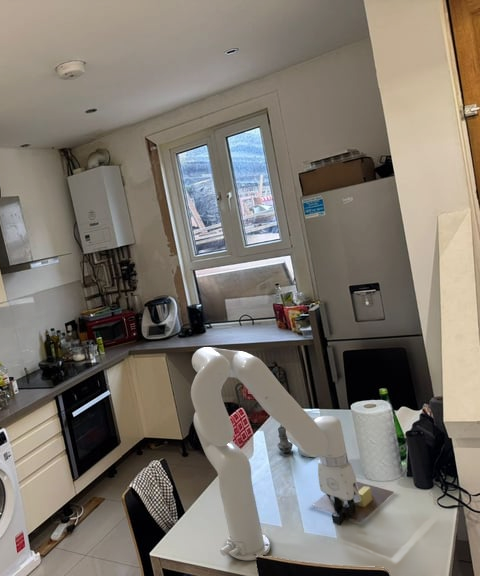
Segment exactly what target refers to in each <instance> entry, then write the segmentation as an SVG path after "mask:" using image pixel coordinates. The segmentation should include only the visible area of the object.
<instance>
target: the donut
mask: <svg viewBox="0 0 480 576" xmlns="http://www.w3.org/2000/svg"><path fill="white" fill-rule="evenodd" d="M297 452H298V453H299V454H300V456H303V457H307V458H312V457H311V456H309V455H307V454H306V453H304V452H303V451H302V450H301V449H299V448H298V447H297Z"/></svg>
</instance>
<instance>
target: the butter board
mask: <svg viewBox="0 0 480 576" xmlns="http://www.w3.org/2000/svg"><path fill="white" fill-rule="evenodd" d="M357 485H358V491H359V490H360V489H361V488H362V487H364V486H366V487H368V486H369V487H370V489H371V494H372V499H373V500H372V501H371V502H370V503H368V504H367V505H366V506H365V507H362V506H359V505H357V506H356V507H355V509H356V511H355V512H354V513H353V515H352V516H351V517H350V518H349V520H352V521H355V522H358V523H363V522H364V521H365V520H366V518H368V517H369V516H370V515H371V514H372V513H373V512H374V511H376V509H377V508H379V507H380V506H381V505H382V504H383V503H384V502H386V500H387V499H388V498H389V497H390V496H391V495H392V494H393V493H394V491H392V490H388V489H386V488H382V487H378V486H375V485H371V484H368V483H363V482H360V481H357ZM341 501H342V505H343V504H344V501H343V500H341ZM311 506H312V507H314V508H317V509H321V510H323V511H326V512H329V513H331V514H333V513H334V512H335V509H334V504H333V503H332V502H331V499H330V498H329V497H328V496H327V494H324V495H323V496H322V497H321V498H320V499H318V500H317V501H316V502H315V503H313V504H312V505H311Z"/></svg>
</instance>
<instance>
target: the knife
mask: <svg viewBox="0 0 480 576" xmlns="http://www.w3.org/2000/svg"><path fill="white" fill-rule="evenodd" d="M368 487H369V486H368ZM369 488H370V487H369ZM357 505H358V502H357V503H353V504H352V510H353V513H354V512H355V511H356V509H355V507H356V506H357ZM343 506H345V505H344V504H343V505H342V506H341V507H340V508H339V509H337V510H336V511H335V512H334V513H331V518H332V519H331V520H332V523H333V524H336V525H339V526H341V525H342V524H343V523H344V522H345V521H346V520H347V519H346V518H345V514H344V509H343Z"/></svg>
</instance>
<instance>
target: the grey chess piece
mask: <svg viewBox="0 0 480 576" xmlns="http://www.w3.org/2000/svg"><path fill="white" fill-rule="evenodd" d="M277 431H278V438H279V442H278V443H277V444H276V445H277V449H279V451H280V452H279V455H280V456H282V457H291V456H293V455H294V451H293V445H294V444H293V443H292V442H290V441H289V439H288V438H287V436H286V429H285V428H284V427H283V426H282V425H281V424H280V425H279V427H278V428H277Z"/></svg>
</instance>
